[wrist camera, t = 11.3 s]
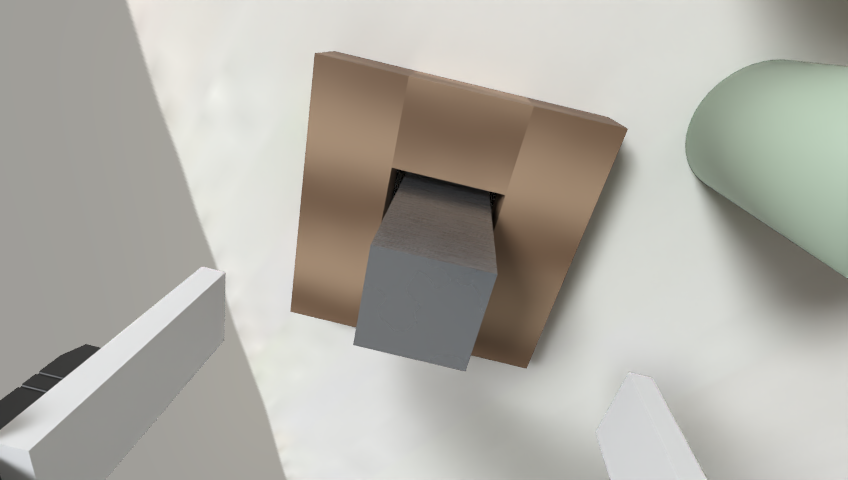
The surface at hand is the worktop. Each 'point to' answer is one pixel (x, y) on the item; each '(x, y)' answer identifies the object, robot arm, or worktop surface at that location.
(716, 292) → the worktop surface
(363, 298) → the square peg
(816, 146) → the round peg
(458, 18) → the worktop surface
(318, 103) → the socket block
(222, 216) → the worktop surface
